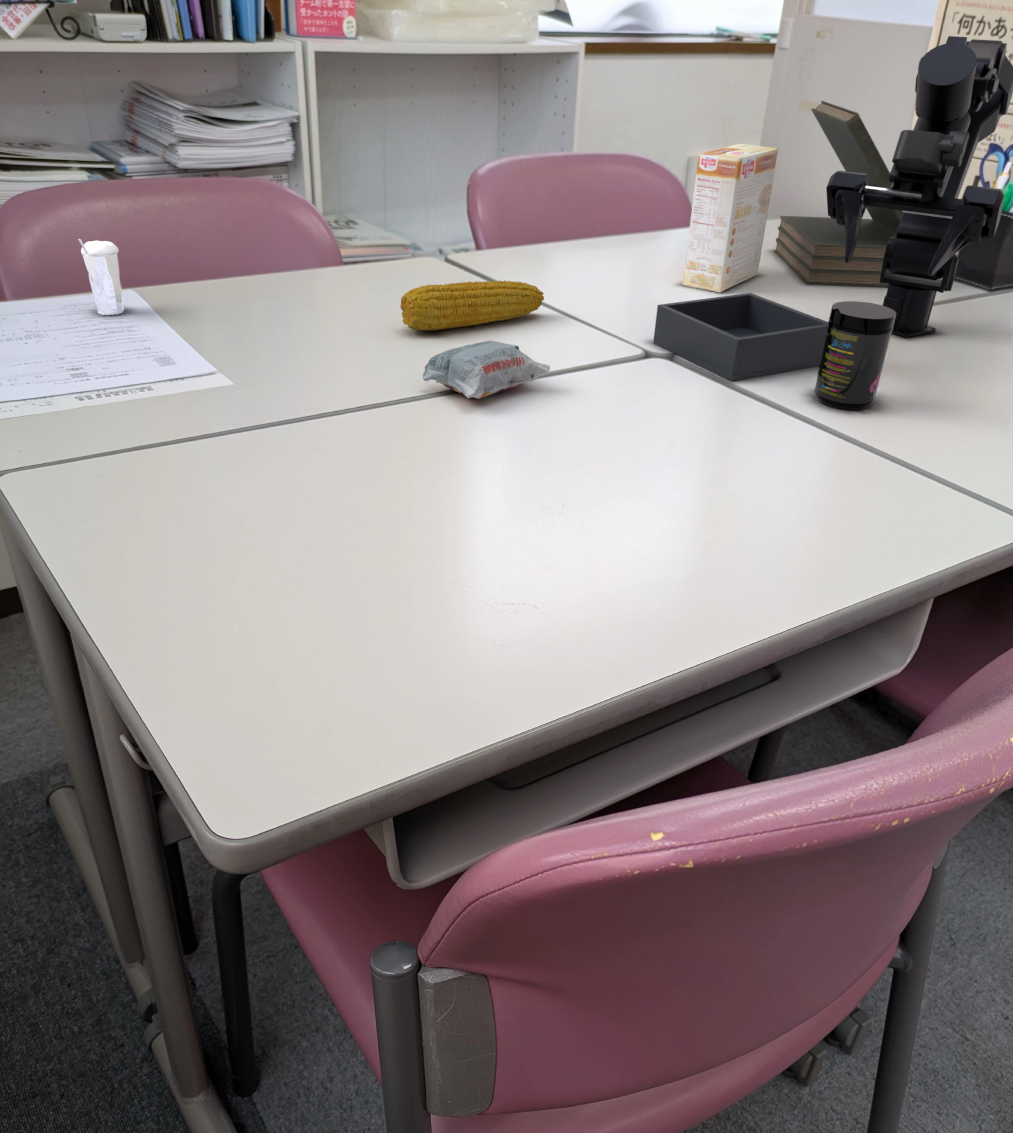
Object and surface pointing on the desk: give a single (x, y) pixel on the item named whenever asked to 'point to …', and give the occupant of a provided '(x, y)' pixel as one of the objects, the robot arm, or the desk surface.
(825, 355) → the supplement container
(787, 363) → the square tray
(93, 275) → the milkshake
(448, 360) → the packaged food
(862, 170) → the stack of books
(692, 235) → the coffeecake box
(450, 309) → the food
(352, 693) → the desk surface
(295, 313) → the desk surface
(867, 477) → the desk surface
